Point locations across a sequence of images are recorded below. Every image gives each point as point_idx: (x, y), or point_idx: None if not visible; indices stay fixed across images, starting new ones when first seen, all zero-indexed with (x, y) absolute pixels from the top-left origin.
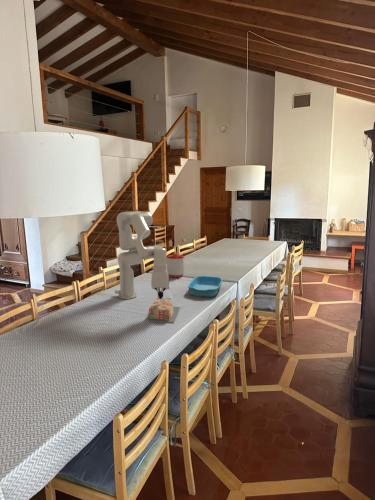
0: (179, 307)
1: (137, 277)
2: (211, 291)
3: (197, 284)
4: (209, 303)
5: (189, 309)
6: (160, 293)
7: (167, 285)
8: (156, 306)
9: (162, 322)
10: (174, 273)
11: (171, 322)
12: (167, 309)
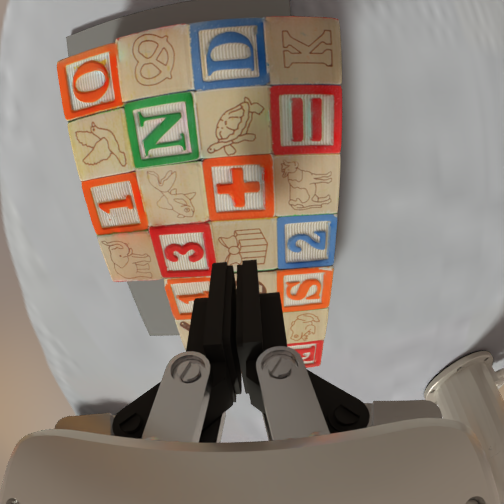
0: (148, 326)
1: None
2: None
3: None
4: (59, 379)
5: (86, 312)
6: (224, 331)
7: (5, 473)
8: (264, 136)
9: (162, 8)
10: None
11: (84, 30)
12: (82, 69)
